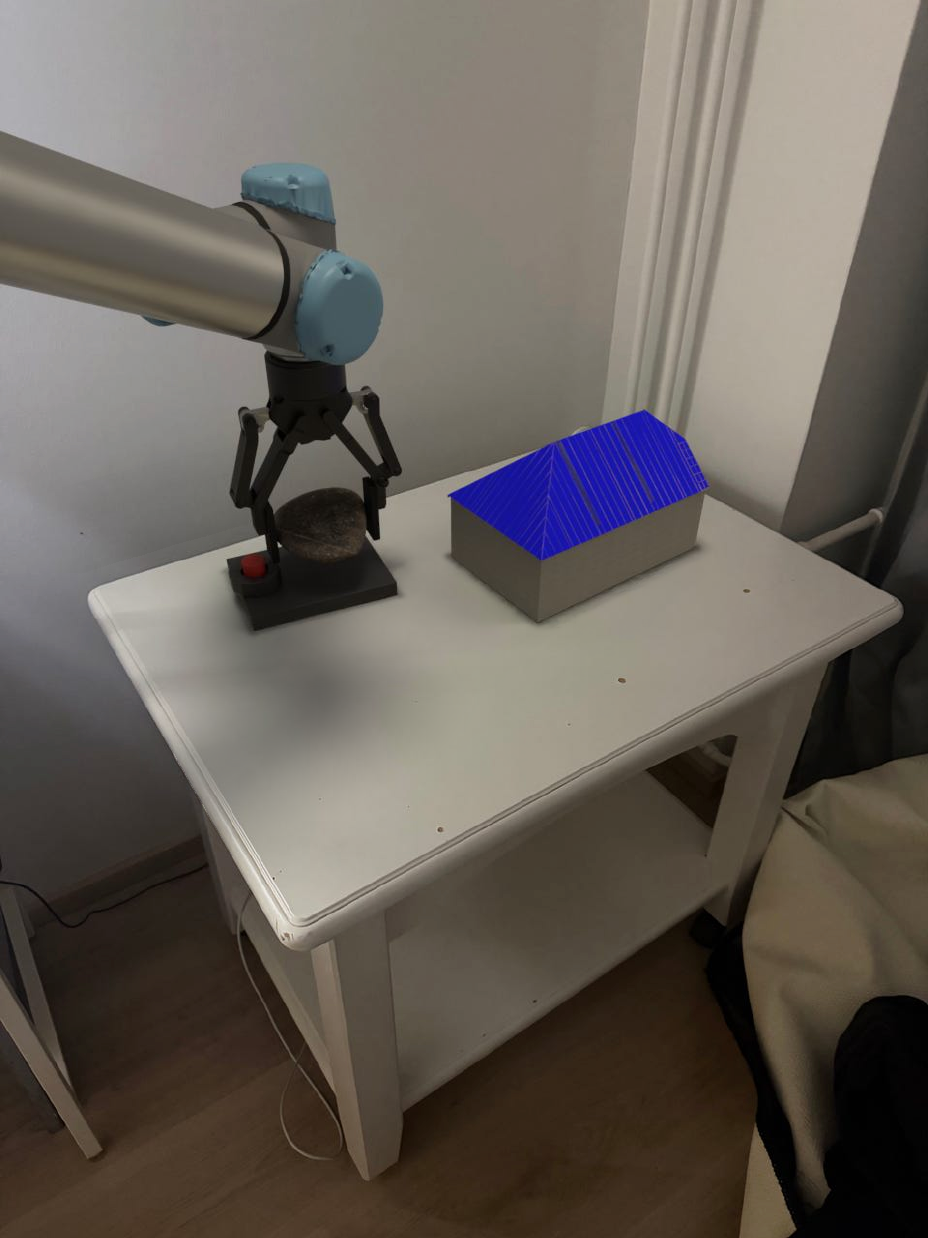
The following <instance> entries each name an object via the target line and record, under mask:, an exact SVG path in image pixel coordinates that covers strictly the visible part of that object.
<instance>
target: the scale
mask: <svg viewBox="0 0 928 1238" xmlns="http://www.w3.org/2000/svg"><path fill="white" fill-rule="evenodd" d="M278 548H279V555H280V562H279V563H275V564H273V562H272V560H271V558H270V556H269V554H268V552H267V549H265V550H261V551H256V552H252V553H247V554H243V555H237V556H234V557H229V558H226V564H227V569H228V576H229V582H230V586H231V588H232V591H233V592H234V593H235V594H237V595H238V597H239V599H240V602H241V603H242V606H243V609H244V611H245V614H246V616H247V618H248V620H249V623H250V625H251V627H252V629H253V630H252V631H254V632H257V631H260V630H265V629H268V628H272V627H277V626H279V625H284V624H288V623H292V622H296V621H300V620H304V619H308V618H311V617H315V616H319V615H323V614H327V613H331V612H335V611H338V610H342V609H346V608H350V607H354V606H358V605H362V604H366V603H370V602H374V601H377V600H381V599H386V598H389V597H393V596H396V595H398V582H397V580H396V578H395V577H394V575H393V573H392V572H391V571H390V569H389V568H388V567H387V565H386V563H385V562H384V561H383V559H382V558H381V556H380V554H379V553H378V552H377V550H376V549H375V547H374V545H373V544H372V543H371V541H370V540H369V539H368V536H365V540H364V544H363V546H362V549H361V551H360V553H359V554H358V555H357V556H356V557H354V558H352V559H349V560H346V561H343V562H339V563H333V564H320V563H314V562H310V561H306V560H304V559H301V558H299V557H297V556H295V555H293V554H292V553H290V552H289V551H287V550H286V549H285V548H283V547H282V546H278ZM252 554H258V555H261V556H263V557H264V560H265V566H266V573H265V574H264V575H262V576H259V577H255V578H250V577H245V576H244V573H243V568H242V559H243V558H244V557H246V556H248V555H252Z"/></svg>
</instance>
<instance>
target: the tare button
mask: <svg viewBox="0 0 928 1238" xmlns="http://www.w3.org/2000/svg"><path fill="white" fill-rule="evenodd" d="M242 568H243V573H244V576H245V577H250V578H255V577H259V576H262V575H264V574H265V573H266V566H265V560H264V557H263V556H261V555H258V554H252V555H248V556H246V557H244V558H243V559H242Z"/></svg>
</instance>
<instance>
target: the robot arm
mask: <svg viewBox="0 0 928 1238" xmlns="http://www.w3.org/2000/svg"><path fill="white" fill-rule="evenodd" d="M240 178H241V179H240V184H241V186H240V187H241V192H240V197H241V200H240V201H237V202H233V203H232V204H228V205H224V206H219V207H214V208H212V207H209V206H206V205H204V204H202V203H198V202H196V201H193V200H191V199H189V198H185V197H182V196H180V195H178V194H174V193H171V192H169V191H166V190H163V189H160V188H158V187H155V186H153V185H149V184H147V183H144V182H142V181H139V180H136V179H133V178H130V177H127V176H125V175H121V174H119V173H118V172H117V173H116V172H114V171H111V170H108V169H105V168H103V167H101V166H98V165H95V164H92V163H89V162H87V161H84V160H81V159H79V158H76V157H73V156H71V155H68V154H65V153H62V152H59V151H57V150H55V149H52V148H49V147H47V146H43V145H40V144H39V143H35V142H33V141H29V140H27V139H24V138H21V137H19V136H17V135H13V134H11V133H8V132H6V131H4V130H3V131H2V130H0V285H4V286H8V287H13V288H16V289H20V290H21V289H22V290H26V291H29V292H34V293H39V294H43V295H48V296H52V297H56V298H61V299H66V300H69V301H70V300H71V301H74V302H79V303H83V304H87V305H93V306H96V307H101V308H105V309H110V310H113V311H114V310H115V311H119V312H123V313H127V314H132V315H137V316H140V317H142V319H144V321H146V322H148V323H149V324H151V325H153V326H155V327H168V326H173V325H181V326H186V327H191V328H194V329H199V330H204V331H209V332H211V333H216V334H221V335H226V336H230V337H235V338H238V339H241V340H244V341H248V342H252V343H258V344H261V345H262V347H263V348H264V350H265V352H264V354H263V359H264V366H265V367H264V368H265V373H266V374H265V375H266V381H267V388H268V399H267V403H266V405H265V406H263V407H258V408H253V409H250V408H249V407H248V406H240V408H238V410H237V416H238V421H239V425H240V433H239V437H238V444H237V448H236V454H235V458H234V459H235V460H234V465H233V470H232V475H231V481H230V486H229V493H228V495H229V497H230V498H231V500H232V503H233V504H234V505H233V506H235V508H236V509H238V510H241V509H244V508H248V509H250V515H251V520H252V526H253V528H254V530H255V532H256V534H257V535H258V536H264V539H265V547H266V550H267V552H268V554H269V556H270V558H271V560H272V562H273V564H275V563H279V562H280V555H279V548H278V547H279V543H278V541H277V534H276V527H275V520H274V514H275V512H274V508H273V506H272V505H271V503H270V501H269V499H270V497H271V496H272V493H273V491H274V488H275V487H276V485H277V482H278V480H279V479H280V476H281V474H282V472H283V470H284V468H285V466H286V464H287V462H288V460H289V458H290V456H291V455H293V454H294V453H295V451H296V449H297V447H298V445H299V444H300V446H303V445H309V444H311V443H313V442H315V441H323V442H324V441H325V442H326V441H329V440H332V437H333V436H336V437H337V438H338V440H339V441H340V442H341V443H342V445H344V447H345V448H346V449H347V450H348V452H350V454H351V455H352V456H353V457H354V459H355V460H356V461H357V462H358V464H360V465H361V467H362V468H363V470H365V472H366V473H367V474H368V475H367V476H363V477H361V479H362V480H361V481H362V494H363V495H362V496H363V502H364V505H365V509H366V532H367V533H368V534H369V537H370V538H371V539H372V540H373V541H379V540H381V528H380V527H381V526H380V510H383V509H386V507H387V489H386V488H388V487H389V485H390V481H389V479H390V478H392V477H395V478H397V477H399V476H401V475H402V473H403V469H402V466H401V463H400V461H399V459H398V456H397V453H396V451H395V448H394V446H393V444H392V441H391V438H390V436H389V434H388V432H387V429H386V427H385V424H384V422H383V420H382V417H381V407H380V403H381V402H380V397H379V395H378V394H377V393H376V392H375V391H374V390H373V389H372V388H371V387H370V386H369V385H363V386H362V387H361V388H360V390H358V391H351V392H349V390H348V387H347V371H346V369H347V368H346V365H348V364H351V363H353V362H355V361H357V360H359V359H361V357H363V356H364V355H365V354H366V353H367V352H368V351H369V349H370V348H371V347H372V345H373V344H374V342H375V341H376V338H377V336H378V334H379V332H380V331H379V329H380V328H379V327H380V325H381V323H382V321H381V320H382V318H383V317H384V316H383V315H384V296H383V291H382V287H381V284H380V280H379V279H378V277H377V275H376V274H375V272H374V271H373V270H372V269H371V267H369V265H367V263H365V262H364V261H361V260H359V259H357V258H354V257H351V256H348V255H346V254H345V253H343V252H341V251H339V250H338V249H337V247H338V246H337V234H336V233H337V231H336V225H337V219H336V217H335V210H334V203H333V195H332V189H331V184H330V180H329V177H328V176H327V174H326V172H324V171H323V170H322V169H321V168H319V167H317V166H314V165H311V164H306V163H299V162H271V163H262V164H258V165H253V166H252V167H251V168H248V169H245V170H244V171H243V173H242V175H241V177H240ZM353 406H355V408H356V410H357V411H358V412H359V413H360V414H361V415H362V416H363V418H364V420H365V421H364V422H365V424H366V425H367V427H368V431H369V433H370V435H371V437H372V439H373V442H374V445H375V446H376V449H377V451H378V453H379V456H380V458H381V460H382V462H381V463H379V464H377V463H376V462H375V461H374V460H373V459H372V457H371V456H370V455H369V454H368V453H367V452H366V450H365V449H364V448H363V447H362V445H361V444H360V443H359V442H358V441H357V439H356V438H355V437H354V436H353V435H352V433H351V432H350V431H349V430H348V428H347V427H346V426H345V424H344V423H343V422H344V421H345V419H346V417H347V416H348V414H349V413H350V411H351V409H352V407H353ZM268 421H270V422H272V424H274V425H275V426H276V428H275V431H274V433H273V435H272V442H271V444H270V445H269V447H268V450H267V452H266V454H265V457H264V459H263V461H262V463H261V465H260V467H259V469H258V471H257V473H256V475H255V478H254V479H253V473H254V468H255V463H256V459H257V452H258V448H259V441H260V439H259V438H260V436H259V434H261V433H262V432H263V431H264V429H265V424H266V423H267V422H268ZM252 479H253V482H252Z"/></svg>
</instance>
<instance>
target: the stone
mask: <svg viewBox="0 0 928 1238" xmlns="http://www.w3.org/2000/svg"><path fill="white" fill-rule="evenodd" d="M274 520H275V527H276V534H277V541H278V545H280V547H283V548H285V549H286V550H287V551H289V552H290V553H292V554H293V555H295V556H297V557H299V558H301V559H304V560H306V561H310V562H314V563H320V564H333V563H339V562H343V561H346V560H349V559H352V558H354V557H356V556H357V555H358V554H359V553H360V551H361V549H362V546H363V544H364V540H365V536H366V535H367V530H366V509H365V505H364V499H363V498H362V497H361V495H359V494H358V493H357V492H356V491H354V490H352V489H350V488H346V487H341V486H340V487H339V486H338V487H337V486H334V487H332V486H331V487H324V488H320V489H319V488H318V489H315V490H310V491H308V492H305V493H303V494H300V495H298V496H295V497H294V498H292V499H290V500H288V501H286V502H285V503H283V504H282V505H281V506H280V507H279V508H278V509H276V511H275V512H274ZM366 537H367V536H366Z"/></svg>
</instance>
